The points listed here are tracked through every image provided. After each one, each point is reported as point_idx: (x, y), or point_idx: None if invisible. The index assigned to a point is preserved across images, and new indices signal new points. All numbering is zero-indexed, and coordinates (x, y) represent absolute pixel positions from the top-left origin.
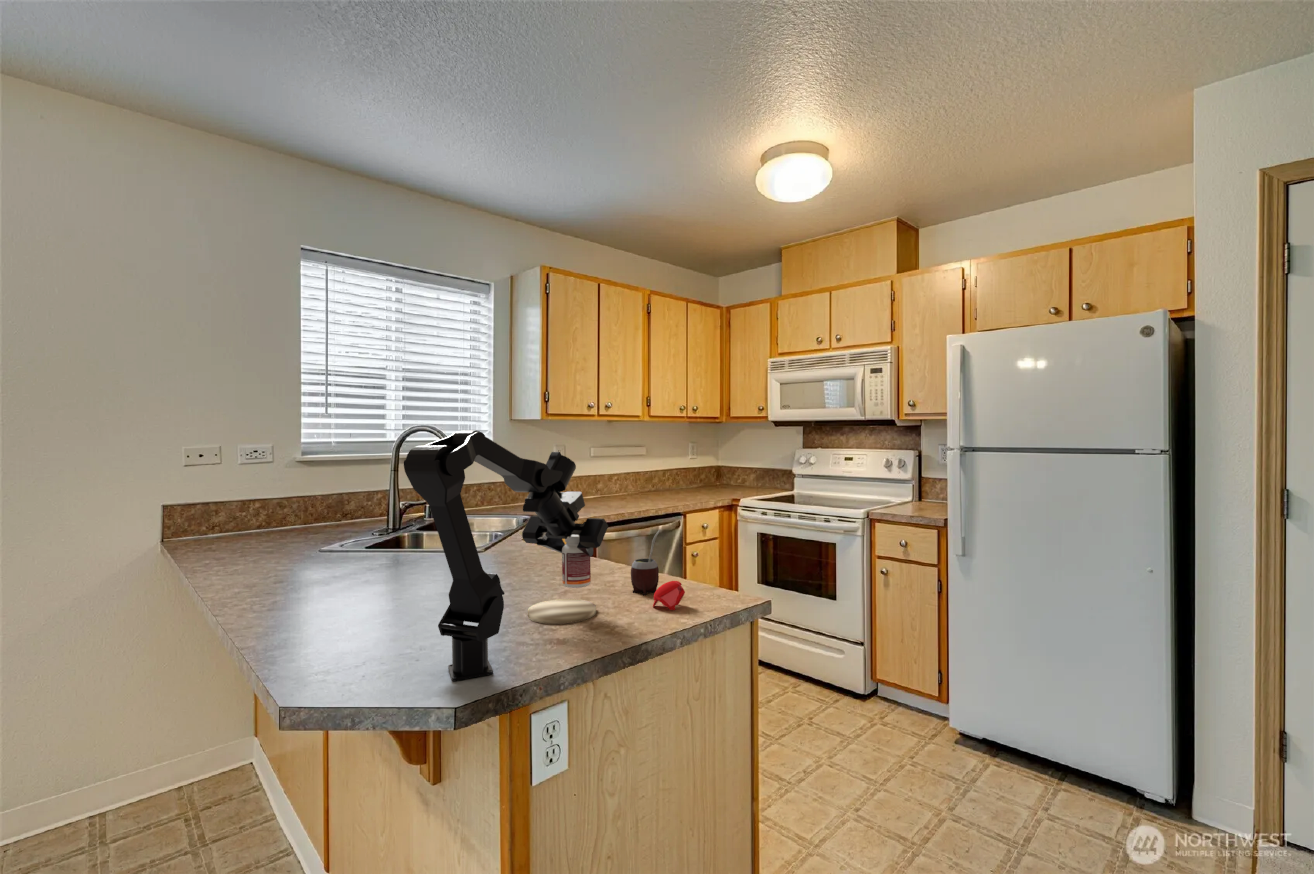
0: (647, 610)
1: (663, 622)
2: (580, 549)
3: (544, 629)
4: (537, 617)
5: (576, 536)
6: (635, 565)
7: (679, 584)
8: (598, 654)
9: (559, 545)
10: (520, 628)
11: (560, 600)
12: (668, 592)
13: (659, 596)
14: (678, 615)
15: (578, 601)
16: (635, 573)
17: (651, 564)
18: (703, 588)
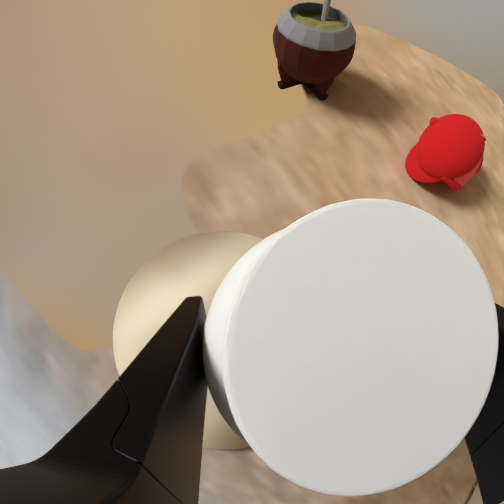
0: (415, 205)
1: (487, 272)
2: (481, 469)
3: (274, 476)
4: (211, 447)
5: (459, 434)
6: (311, 39)
7: (485, 138)
8: (461, 493)
9: (189, 429)
10: (207, 493)
11: (159, 271)
12: (473, 168)
13: (453, 178)
14: (480, 212)
15: (222, 254)
16: (312, 61)
17: (352, 31)
18: (387, 40)
